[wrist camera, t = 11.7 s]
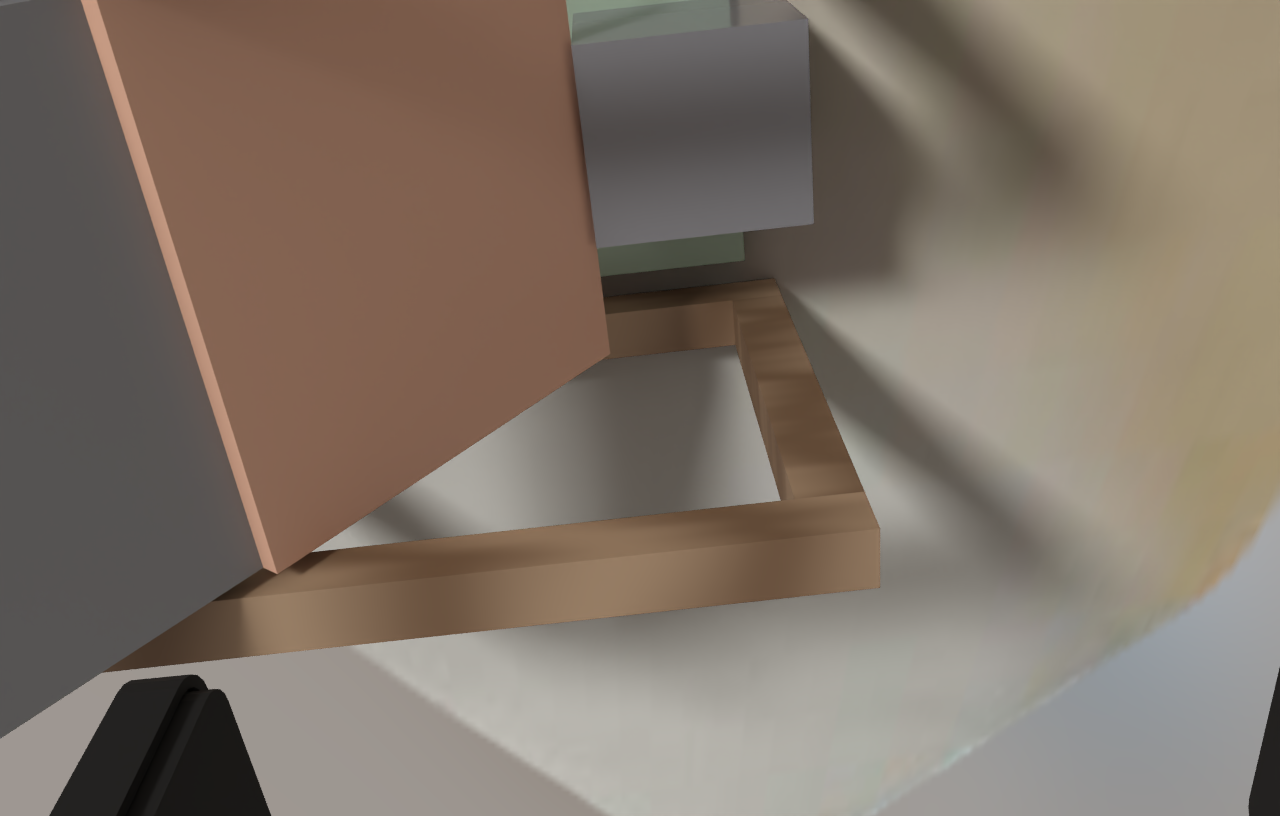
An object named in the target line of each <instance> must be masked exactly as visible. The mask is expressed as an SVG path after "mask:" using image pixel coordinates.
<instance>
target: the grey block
mask: <svg viewBox="0 0 1280 816" xmlns="http://www.w3.org/2000/svg"><path fill="white" fill-rule="evenodd" d="M571 49H572V57H573V65H574V73H575V81H576V89H577V97H578V105H579V113H580V121H581V129H582V136H583V144H584V152H585V160H586V168H587V176H588V184H589V192H590V200H591V208H592V216H593V224H594V232H595V240H596V248H603V247H612V246H621V245H630V244H639V243H648V242H657V241H666V240H675V239H684V238H693V237H702V236H711V235H720V234H729V233H738V232H747V231H756V230H765V229H773V228H782V227H791V226H800V225H809V224H814V212H813V176H812V140H811V104H810V68H809V32H808V18H807V17H806V16H805V15H803V14H802V13H801V12H800V11H799V10H797V9H796V8H795V7H794V6H793V5H792V4H790V3H789V2H788V1H787V0H688V1H679V2H670V3H661V4H652V5H644V6H635V7H626V8H617V9H608V10H599V11H591V12H582V13H573V21H572V38H571Z"/></svg>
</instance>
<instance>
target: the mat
mask: <svg viewBox="0 0 1280 816" xmlns="http://www.w3.org/2000/svg"><path fill="white" fill-rule="evenodd" d="M679 1H688V0H566V5H567V13H568V21H569V29H570V37H571V38H572V21H573V13H582V12H591V11H599V10H608V9H617V8H626V7H635V6H644V5H652V4H661V3H670V2H679ZM597 252H598V260H599V268H600V276H601V277H602V276H611V275H620V274H629V273H638V272H647V271H656V270H664V269H673V268H682V267H691V266H700V265H709V264H718V263H727V262H736V261H745V255H744V238H743V232H738V233H729V234H720V235H711V236H702V237H693V238H684V239H675V240H666V241H657V242H648V243H639V244H630V245H621V246H612V247H603V248H597Z"/></svg>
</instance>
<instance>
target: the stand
mask: <svg viewBox="0 0 1280 816" xmlns="http://www.w3.org/2000/svg"><path fill="white" fill-rule="evenodd" d="M603 300H604V308H605V316H606V324H607V332H608V340H609V348H610V354H609V355H608V356H606V357H605V358H603V359H602V360H604V359H613V358H622V357H631V356H640V355H649V354H658V353H667V352H676V351H685V350H694V349H703V348H712V347H721V346H730V345H736V349H737V352H738V356H739V359H740V363H741V366H742V369H743V373H744V376H745V380H746V383H747V386H748V390H749V393H750V397H751V400H752V403H753V407H754V410H755V414H756V417H757V421H758V424H759V427H760V431H761V434H762V438H763V441H764V444H765V448H766V451H767V455H768V458H769V462H770V465H771V468H772V472H773V475H774V479H775V482H776V485H777V489H778V492H779V496H780V499H781V501H774V502H765V503H756V504H747V505H738V506H729V507H720V508H710V509H701V510H692V511H683V512H674V513H665V514H656V515H647V516H638V517H628V518H619V519H610V520H601V521H592V522H583V523H574V524H565V525H556V526H546V527H537V528H528V529H519V530H510V531H501V532H492V533H483V534H474V535H464V536H455V537H446V538H437V539H428V540H419V541H410V542H401V543H392V544H382V545H373V546H364V547H355V548H346V549H337V550H328V551H319V552H310V553H309V554H307V555H306V556H304V557H303V558H301V559H300V560H298V561H297V562H295V563H294V564H292V565H291V566H289V567H288V568H286V569H285V570H283V571H281V572H280V573H278V574H276V573H274V572H272V571H270V570H267V569H265V568H262V569H260V570H259V571H257V572H256V573H254V574H253V575H251V576H250V577H248V578H247V579H245V580H243V581H242V582H240V583H239V584H237V585H236V586H234V587H233V588H231V589H230V590H228V591H227V592H225V593H223V594H222V595H220V596H219V597H217V598H216V599H214V600H213V601H211V602H210V603H208V604H207V605H205V606H203V607H202V608H200V609H199V610H197V611H196V612H194V613H193V614H191V615H190V616H188V617H187V618H185V619H183V620H182V621H180V622H179V623H177V624H176V625H174V626H173V627H171V628H170V629H168V630H167V631H165V632H163V633H162V634H160V635H159V636H157V637H156V638H154V639H153V640H151V641H150V642H148V643H147V644H145V645H143V646H142V647H140V648H139V649H137V650H136V651H134V652H133V653H131V654H130V655H128V656H127V657H125V658H123V659H122V660H120V661H119V662H117V663H116V664H114V665H113V666H111V667H110V668H108V669H107V670H105V671H103V672H112V671H121V670H130V669H139V668H149V667H157V666H167V665H176V664H185V663H194V662H204V661H212V660H222V659H230V658H240V657H249V656H259V655H268V654H277V653H286V652H295V651H304V650H313V649H322V648H332V647H341V646H350V645H359V644H369V643H378V642H387V641H396V640H405V639H414V638H424V637H433V636H442V635H451V634H460V633H469V632H479V631H488V630H497V629H506V628H515V627H524V626H534V625H543V624H552V623H561V622H570V621H579V620H589V619H598V618H607V617H616V616H625V615H634V614H644V613H653V612H662V611H671V610H680V609H689V608H699V607H708V606H717V605H726V604H735V603H744V602H754V601H763V600H772V599H781V598H790V597H799V596H809V595H818V594H827V593H836V592H845V591H854V590H864V589H873V588H880V527H879V525H878V522H877V520H876V518H875V515H874V513H873V511H872V508H871V506H870V503H869V501H868V499H867V496H866V494H865V492H864V489H863V487H862V485H861V482H860V480H859V477H858V475H857V473H856V470H855V468H854V466H853V463H852V461H851V458H850V456H849V454H848V451H847V449H846V447H845V444H844V442H843V440H842V437H841V435H840V432H839V430H838V428H837V425H836V423H835V421H834V418H833V416H832V414H831V411H830V409H829V406H828V404H827V402H826V399H825V397H824V395H823V392H822V390H821V388H820V385H819V383H818V380H817V378H816V376H815V373H814V371H813V369H812V366H811V364H810V362H809V359H808V357H807V354H806V352H805V350H804V347H803V345H802V343H801V340H800V338H799V336H798V333H797V331H796V328H795V326H794V324H793V321H792V319H791V317H790V314H789V312H788V309H787V307H786V305H785V302H784V300H783V298H782V295H781V293H780V291H779V288H778V286H777V283H776V281H775V279H774V278H772V279H763V280H754V281H745V282H736V283H727V284H718V285H709V286H700V287H691V288H682V289H673V290H664V291H655V292H646V293H637V294H628V295H619V296H610V297H603ZM103 672H102V673H103Z"/></svg>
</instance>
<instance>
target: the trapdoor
mask: <svg viewBox="0 0 1280 816" xmlns="http://www.w3.org/2000/svg"><path fill="white" fill-rule="evenodd" d="M609 354H610V348H609V340H608V332H607V324H606V316H605V308H604V300H603V292H602V284H601V276H600V268H599V260H598V252H597V248H596V240H595V232H594V224H593V216H592V208H591V200H590V192H589V184H588V176H587V168H586V160H585V152H584V144H583V136H582V129H581V121H580V113H579V105H578V97H577V89H576V81H575V73H574V65H573V57H572V49H571V37H570V29H569V21H568V13H567V5H566V0H0V738H2V737H3V736H5V735H6V734H8V733H10V732H11V731H13V730H14V729H16V728H17V727H19V726H20V725H22V724H23V723H25V722H26V721H28V720H30V719H31V718H33V717H34V716H36V715H37V714H39V713H40V712H42V711H43V710H45V709H46V708H48V707H49V706H51V705H53V704H54V703H56V702H57V701H59V700H60V699H62V698H63V697H64V696H66V695H68V694H70V693H71V692H73V691H74V690H76V689H77V688H79V687H80V686H82V685H83V684H85V683H86V682H88V681H90V680H91V679H92V678H94V677H95V676H97V675H99V674H100V673H102V672H103V671H105V670H107V669H108V668H110V667H111V666H113V665H114V664H116V663H117V662H119V661H120V660H122V659H123V658H125V657H127V656H128V655H130V654H131V653H133V652H134V651H136V650H137V649H139V648H140V647H142V646H143V645H145V644H147V643H148V642H150V641H151V640H153V639H154V638H156V637H157V636H159V635H160V634H162V633H163V632H165V631H167V630H168V629H170V628H171V627H173V626H174V625H176V624H177V623H179V622H180V621H182V620H183V619H185V618H187V617H188V616H190V615H191V614H193V613H194V612H196V611H197V610H199V609H200V608H202V607H203V606H205V605H207V604H208V603H210V602H211V601H213V600H214V599H216V598H217V597H219V596H220V595H222V594H223V593H225V592H227V591H228V590H230V589H231V588H233V587H234V586H236V585H237V584H239V583H240V582H242V581H243V580H245V579H247V578H248V577H250V576H251V575H253V574H254V573H256V572H257V571H259V570H260V569H262V568H265V569H267V570H270V571H272V572H274V573H276V574H278V573H280V572H281V571H283V570H285V569H286V568H288V567H289V566H291V565H292V564H294V563H295V562H297V561H298V560H300V559H301V558H303V557H304V556H306V555H307V554H309V553H310V552H312V551H313V550H315V549H316V548H318V547H319V546H321V545H322V544H324V543H325V542H327V541H328V540H330V539H331V538H333V537H334V536H336V535H337V534H339V533H340V532H342V531H343V530H345V529H346V528H348V527H349V526H351V525H353V524H354V523H356V522H357V521H359V520H360V519H362V518H363V517H365V516H366V515H368V514H369V513H371V512H372V511H374V510H375V509H377V508H378V507H380V506H381V505H383V504H384V503H386V502H387V501H389V500H390V499H392V498H393V497H395V496H396V495H398V494H399V493H401V492H402V491H404V490H405V489H407V488H408V487H410V486H411V485H413V484H414V483H416V482H417V481H419V480H420V479H422V478H424V477H425V476H427V475H428V474H430V473H431V472H433V471H434V470H436V469H437V468H439V467H440V466H442V465H443V464H445V463H446V462H448V461H449V460H451V459H452V458H454V457H455V456H457V455H458V454H460V453H461V452H463V451H464V450H466V449H467V448H469V447H470V446H472V445H473V444H475V443H476V442H478V441H479V440H481V439H482V438H484V437H485V436H487V435H488V434H490V433H492V432H493V431H495V430H496V429H498V428H499V427H501V426H502V425H504V424H505V423H507V422H508V421H510V420H511V419H513V418H514V417H516V416H517V415H519V414H520V413H522V412H523V411H525V410H526V409H528V408H529V407H531V406H532V405H534V404H535V403H537V402H538V401H540V400H541V399H543V398H544V397H546V396H547V395H549V394H550V393H552V392H553V391H555V390H556V389H558V388H559V387H561V386H563V385H564V384H566V383H567V382H569V381H570V380H572V379H573V378H575V377H576V376H578V375H579V374H581V373H582V372H584V371H585V370H587V369H588V368H590V367H591V366H593V365H594V364H596V363H597V362H599V361H600V360H602V359H603V358H605V357H606V356H608V355H609Z"/></svg>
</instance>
